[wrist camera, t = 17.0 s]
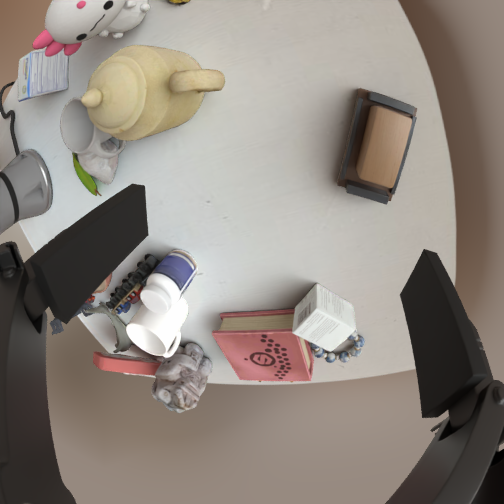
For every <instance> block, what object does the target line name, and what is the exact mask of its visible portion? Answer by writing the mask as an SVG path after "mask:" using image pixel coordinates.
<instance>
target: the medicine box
mask: <svg viewBox="0 0 504 504" xmlns="http://www.w3.org/2000/svg"><path fill="white" fill-rule="evenodd" d="M65 89H68V56H66V55H65V54H64V48H63V49H62V50H61V51H60V52H59V53H57V54H56V55H54V56H51V57H47V56H45V50H39V51H32V52H30V53H29V54H27V55H25V56H24V57H22V58H21V59H20V60H19V72H18V100H19V102H20V101H23V100H27V99H31V98H34V97H38V96H42V95H46V94H50V93H54V92H58V91H61V90H65Z"/></svg>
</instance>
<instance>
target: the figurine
mask: <svg viewBox="0 0 504 504" xmlns="http://www.w3.org/2000/svg"><path fill="white" fill-rule="evenodd" d="M170 349H171V348H170ZM170 349H169V350H170ZM169 350H168V351H169ZM168 351H167V352H168ZM203 355H204V352H203V350H202V349H201V348H200V347H199V346H198V345H197V344H194V343H189V344H187V345H186V346H185V348H183V347H181V346H178V348H177V350H176V351H175V353H174V354H173V355H172V356H171V357H169V358H164V360H163V361H162V363H161V364H160V366H159V368H158V369H157V371H156V373H155V376H156V380H155V382H154V384H153V386H152V395H153V397H154V398H155V399H156V400H157V401H159V402H160V401H162V402H163V404H164V405H165V406H166V407H167V408H168V409H169V410H170V411H173V410H174V411H176V412H178V413H181V412H183V411H186V410H189V409H192V408H194V407H196V406H197V402H198V401H199V396H200V395H201V394H202V393H203V392H204V389H205V386H206V383H207V379H208V378H207V376H208V375H209V374H210V373H211V372H212V368H213V365H212V362H211V361H210V360H209V359H207V358H205V357H203Z"/></svg>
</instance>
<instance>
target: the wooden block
mask: <svg viewBox="0 0 504 504" xmlns="http://www.w3.org/2000/svg"><path fill="white" fill-rule="evenodd" d="M411 124H412V119H411V118H410V117H408V116H405V115H403V114H400V113H397V112H395V111H392V110H389V109H386V108H383V107H380V106H375V105H373V106H371V107H370V111H369V115H368V120H367V124H366V128H365V133H364V137H363V141H362V145H361V149H360V153H359V157H358V160H357V164H356V171H357V173H358V175H359V178H360V179H362V180H365V181H369V182H372V183H375V184H378V185H381V186H384V187H387V188H393V186H394V184H395V181H396V177H397V174H398V171H399V168H400V165H401V161H402V158H403V154H404V151H405V147H406V144H407V140H408V136H409V132H410V128H411Z"/></svg>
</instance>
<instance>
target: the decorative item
mask: <svg viewBox="0 0 504 504" xmlns="http://www.w3.org/2000/svg"><path fill="white" fill-rule="evenodd" d="M169 1H171V2H173V3H175V4H184V3H187V2H188V1H190V0H169Z"/></svg>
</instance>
